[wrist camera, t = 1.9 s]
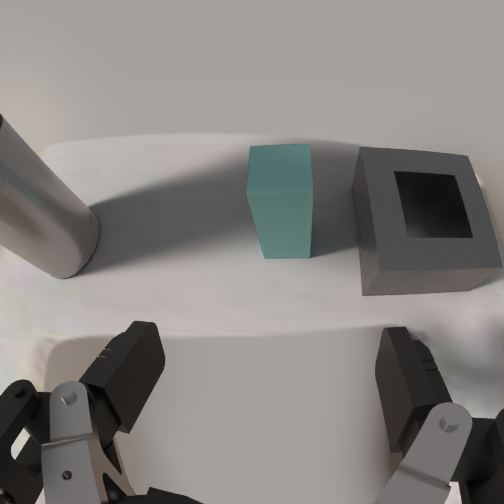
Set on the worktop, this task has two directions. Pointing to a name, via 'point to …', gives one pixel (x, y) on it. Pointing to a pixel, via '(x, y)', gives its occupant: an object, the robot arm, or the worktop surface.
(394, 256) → the socket block
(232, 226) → the worktop surface
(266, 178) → the teal peg
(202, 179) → the worktop surface
